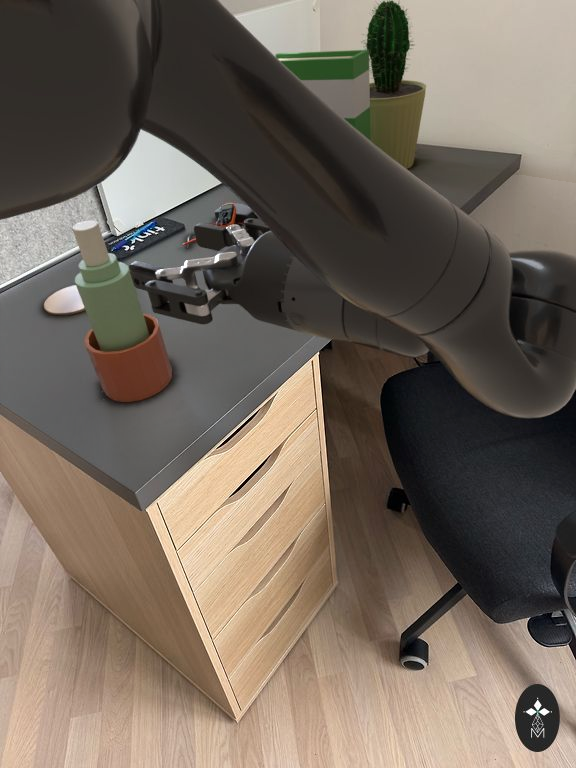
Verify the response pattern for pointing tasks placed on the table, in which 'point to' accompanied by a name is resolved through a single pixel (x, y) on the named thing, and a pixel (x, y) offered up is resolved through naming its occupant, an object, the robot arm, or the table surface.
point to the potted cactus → (393, 85)
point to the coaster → (64, 302)
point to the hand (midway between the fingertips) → (167, 253)
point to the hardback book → (336, 81)
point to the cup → (132, 366)
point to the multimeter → (230, 216)
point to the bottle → (107, 292)
